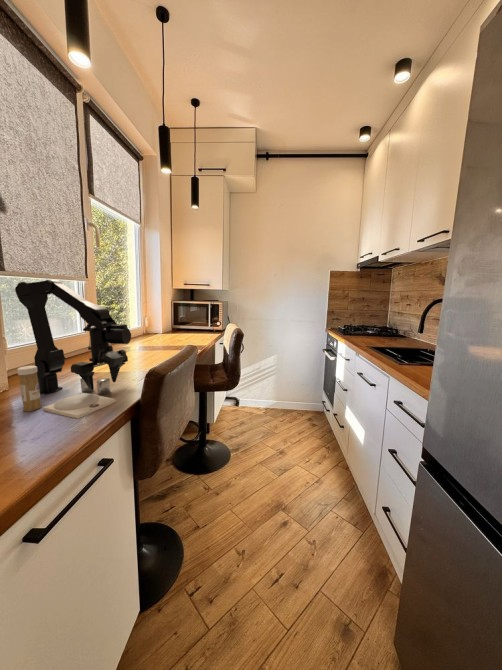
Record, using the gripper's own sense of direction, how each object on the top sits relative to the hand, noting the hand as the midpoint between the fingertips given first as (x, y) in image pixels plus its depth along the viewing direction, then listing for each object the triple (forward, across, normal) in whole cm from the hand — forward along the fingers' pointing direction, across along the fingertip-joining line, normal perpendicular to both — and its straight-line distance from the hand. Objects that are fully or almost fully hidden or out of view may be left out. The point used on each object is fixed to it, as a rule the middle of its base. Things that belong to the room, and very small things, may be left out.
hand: (103, 385), depth 94 cm
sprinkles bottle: (+3, -18, +9) cm, 20 cm away
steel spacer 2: (+3, 0, 0) cm, 3 cm away
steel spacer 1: (+3, -1, +7) cm, 7 cm away
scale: (+3, -11, -3) cm, 12 cm away
